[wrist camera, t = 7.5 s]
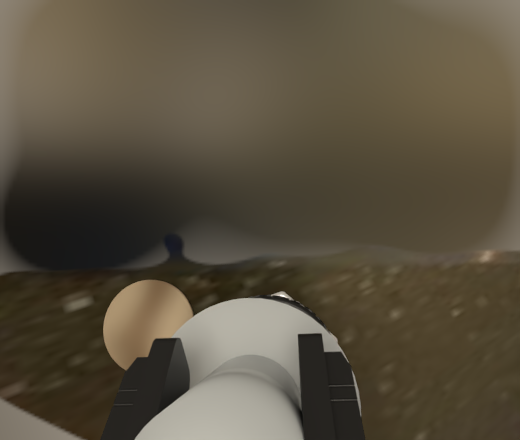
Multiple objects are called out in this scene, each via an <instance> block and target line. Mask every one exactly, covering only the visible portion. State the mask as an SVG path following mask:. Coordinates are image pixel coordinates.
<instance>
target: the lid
mask: <svg viewBox="0 0 520 440" xmlns="http://www.w3.org/2000/svg"><path fill="white" fill-rule="evenodd" d="M312 333H322V338H323V346H324V352H338V351H341V352H342V354H343V355H344V357H345V358H346V356H345V354H344V353H343V351H342V349H341V348H340V346H339V345H338V344H337V342H336V341H335V340H334V338H333V337H332V336H331V335H330V334H329V333H328V332H327V331H326V330H325V328H324V327H323V326H321V325H320V324H319V323H318V322H316V321H315V320H314V319H313V318H312V317H310V316H308V315H307V314H305V313H304V312H302V311H300V310H298V309H296V308H294V307H292V306H289V305H287V304H284V303H281V302H277V301H274V300H268V299H262V298H243V299H234V300H230V301H226V302H222V303H219V304H217V305H214V306H211V307H209V308H207V309H205V310H203V311H202V312H200V313H198V314H196V315H195V316H194V317H192V318H191V319H190V320H188V321H187V322H186V323H185V324H184V325H183V326H181V327H180V328H179V329H178V330H177V331H176V332H175V334H174V335H173V336H172V337H171V338H180V339H181V341H182V344H183V348H184V352H185V355H186V359H187V363H188V366H189V371H190V387H189V390H188V391H187V392H186V393H185V394H183V395H182V396H181V397H180V398H178V399H177V400H176V401H174V402H173V403H172V404H171V405H169V406H168V407H167V408H166V409H164V410H163V411H162V412H160V413H159V414H158V415H157V416H155V417H154V418H153V419H152V420H151V421H150V422H149V423H148V424H147V425H146V426H145V427H144V428H143V429H142V430H141V432H140V433H139V434H138V435H137V437H136V438H135V440H304V430H303V419H302V407H301V391H300V374H299V353H298V334H312ZM346 359H347V358H346ZM347 361H348V360H347ZM352 373H353V371H352ZM353 378H354V384H355V389H356V394H357V401H358V404H359V410H360V415H361V404H360V397H359V391H358V387H357V383H356V380H355V376H354V374H353Z"/></svg>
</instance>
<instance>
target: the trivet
mask: <svg viewBox="0 0 520 440" xmlns="http://www.w3.org/2000/svg"><path fill="white" fill-rule="evenodd" d="M192 317H194V314H193V310H192V307H191V305H190V303H189V301H188V299H187V298H186V296H185V295H184V294H183V293H182V292H181V291H180V290H179V289H178V288H176V287H175V286H173V285H171V284H169V283H166V282H163V281H158V280H143V281H139V282H136V283H133V284H131V285H129V286H128V287H126V288H125V289H123V290H122V291H121V292H120V293H119V294H118V295H117V296H116V297H115V298H114V300H113V301H112V303H111V304H110V306H109V308H108V310H107V313H106V316H105V320H104V327H103V331H104V341H105V344H106V347H107V350H108V352H109V354H110V355H111V357H112V358H113V359H114V361H115V362H116V363H117V364H118V365H119V366H121V367H122V368H123V369H125V370H127V369H128V368H129V367H130V366H131V364H132V363H133V362H134V361H135V359H136V358H137V357H148V355H149V352H150V349H151V346H152V343H153V341H154V339H156V338H171V337H172V336H173V335H174V334H175V332H176V331H177V330H178V329H179V328H180V327H181V326H183V325H184V324H185V323H186V322H187V321H188V320H190V319H191V318H192Z"/></svg>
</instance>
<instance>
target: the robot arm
mask: <svg viewBox="0 0 520 440" xmlns="http://www.w3.org/2000/svg"><path fill="white" fill-rule="evenodd" d="M298 353H299V374H300V391H301V407H302V419H303V430H304V440H365V436H364V430H363V425H362V420H361V415H360V410H359V404H358V401H357V394H356V389H355V384H354V378H353V373H352V368H351V365H350V364H349V362H348V361H347V359H346V358H345V357H344V355H343V354H342V352H341V351H338V352H324V346H323V338H322V333H312V334H298ZM189 387H190V371H189V366H188V363H187V359H186V355H185V352H184V348H183V344H182V341H181V339H180V338H156V339H154V341H153V343H152V346H151V349H150V352H149V355H148V357H137V358H136V359H135V361H134V362H133V363H132V364H131V366H130V367H129V368H128V369H127V371H126V372H125V374H124V377H123V379H122V382H121V385H120V388H119V393H117V396H116V399H115V401H114V406H113V407H112V409H111V412H110V415H109V418H108V420H107V423H106V426H105V429H104V431H103V434H102V437H101V439H100V440H135V438H136V437H137V435H138V434H139V433H140V432H141V430H142V429H143V428H144V427H145V426H146V425H147V424H148V423H149V422H150V421H151V420H152V419H153V418H154V417H155V416H157V415H158V414H159V413H160V412H162V411H163V410H164V409H166V408H167V407H168V406H169V405H171V404H172V403H173V402H174V401H176V400H177V399H178V398H180V397H181V396H182V395H183V394H185V393H186V392H187V391H188V390H189Z"/></svg>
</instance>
